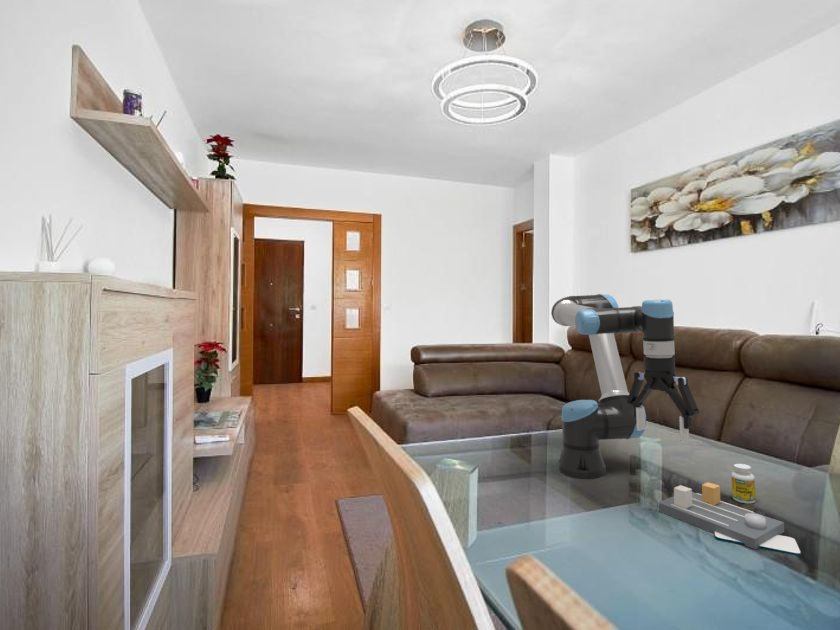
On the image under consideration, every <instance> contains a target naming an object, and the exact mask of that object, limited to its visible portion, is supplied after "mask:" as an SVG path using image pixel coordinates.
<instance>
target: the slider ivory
mask: <svg viewBox="0 0 840 630" xmlns="http://www.w3.org/2000/svg"><path fill="white" fill-rule="evenodd" d="M692 492H693V489H692V488H690V487H687V486H684V485H681V484H680V485H678V486H675V487H673V496H674V505H677V506H679V507H682V508H685V509H687V508H689V507H691V506H692Z"/></svg>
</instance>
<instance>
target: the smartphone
mask: <svg viewBox="0 0 840 630" xmlns="http://www.w3.org/2000/svg"><path fill="white" fill-rule="evenodd" d="M713 536H714V539H715V540H716V541H720V542H725V543H728V544H729V543H731V544H736V545H740V546H744V547H746V546H745V544H744V543H743V542H740V541H738V540H735V539H733V538H730V537H728V536H725V535H723V534H721V533H718V532H716V531H714V533H713ZM757 549H761V550H767V551H772V552H776V553H777V552H778V553H782V554H788V555H793V556H801V555H802V551H801V549H800V546H799V545H798V542H797V540H796V538H794V537H791V536H788V535H783V534H781V535H776V536H775V537H773V538H771V539H769V540H768V541H766V542H764V543H762V544H761V545H759V546H758V548H757Z"/></svg>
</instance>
